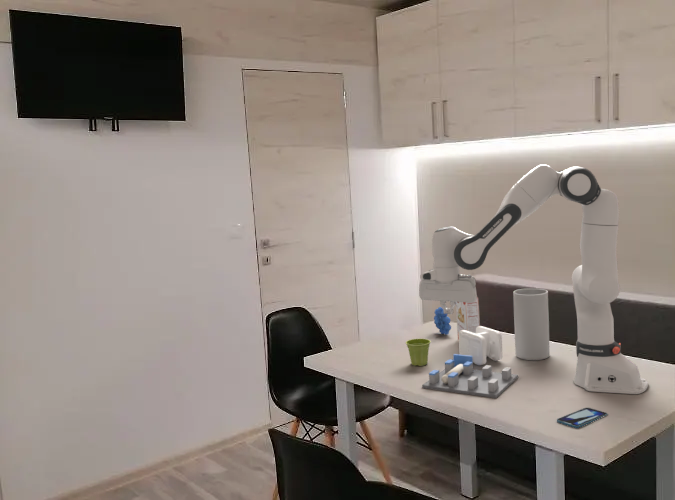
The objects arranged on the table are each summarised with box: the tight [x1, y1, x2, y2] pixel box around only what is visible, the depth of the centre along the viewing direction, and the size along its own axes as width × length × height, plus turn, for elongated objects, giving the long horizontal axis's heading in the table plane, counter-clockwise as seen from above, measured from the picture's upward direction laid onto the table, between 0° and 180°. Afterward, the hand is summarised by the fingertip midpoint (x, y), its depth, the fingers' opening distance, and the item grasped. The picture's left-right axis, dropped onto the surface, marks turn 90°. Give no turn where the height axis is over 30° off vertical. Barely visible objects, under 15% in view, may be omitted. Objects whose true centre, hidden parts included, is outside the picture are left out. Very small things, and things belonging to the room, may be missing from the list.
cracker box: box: [455, 296, 481, 341], centre depth 275 cm, size 14×6×21 cm, turn 6°
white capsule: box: [442, 364, 463, 384], centre depth 232 cm, size 16×3×3 cm, turn 147°
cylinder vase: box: [512, 287, 550, 361], centre depth 253 cm, size 12×12×25 cm
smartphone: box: [556, 407, 608, 429], centre depth 192 cm, size 7×1×15 cm
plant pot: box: [405, 338, 432, 367], centre depth 254 cm, size 9×9×9 cm
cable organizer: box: [457, 325, 503, 366], centre depth 252 cm, size 15×11×12 cm
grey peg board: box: [421, 353, 519, 399], centre depth 229 cm, size 26×22×6 cm
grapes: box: [433, 306, 452, 336], centre depth 293 cm, size 12×7×12 cm, turn 24°
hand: (448, 313), depth 230 cm, fingers closed
